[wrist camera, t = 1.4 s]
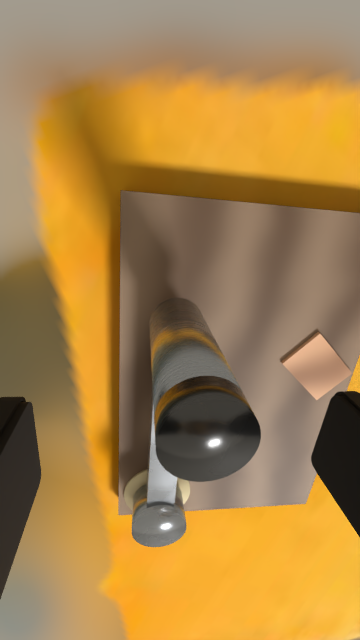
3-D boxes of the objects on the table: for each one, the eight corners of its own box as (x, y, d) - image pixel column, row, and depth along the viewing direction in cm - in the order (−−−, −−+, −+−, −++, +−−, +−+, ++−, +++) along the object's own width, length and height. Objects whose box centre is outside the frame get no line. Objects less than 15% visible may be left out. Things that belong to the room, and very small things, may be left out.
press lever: (208, 288, 19) (289, 399, 8) (180, 513, 27) (203, 712, 16) (140, 285, 18) (136, 400, 8) (132, 516, 26) (125, 724, 16)
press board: (390, 216, 21) (412, 218, 19) (298, 489, 31) (307, 506, 29) (122, 191, 18) (120, 190, 16) (119, 498, 28) (118, 518, 27)
